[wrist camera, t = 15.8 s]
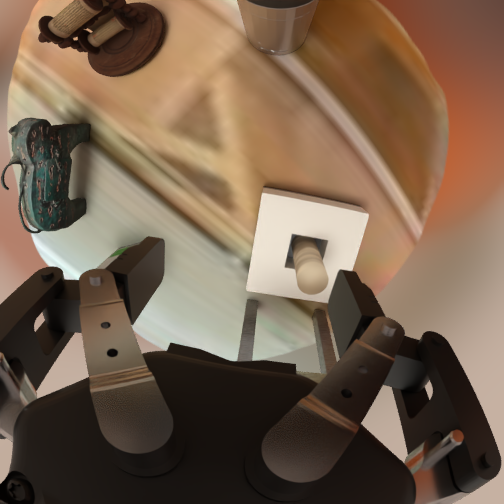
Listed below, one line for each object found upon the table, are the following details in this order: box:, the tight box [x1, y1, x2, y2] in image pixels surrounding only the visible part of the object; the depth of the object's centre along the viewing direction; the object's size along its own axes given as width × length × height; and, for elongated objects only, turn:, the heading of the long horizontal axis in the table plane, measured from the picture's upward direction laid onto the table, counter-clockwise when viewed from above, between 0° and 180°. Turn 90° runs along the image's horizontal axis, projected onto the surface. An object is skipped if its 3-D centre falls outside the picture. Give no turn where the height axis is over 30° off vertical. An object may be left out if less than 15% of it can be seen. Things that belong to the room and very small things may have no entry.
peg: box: [291, 235, 329, 295], centre depth 39 cm, size 4×4×12 cm
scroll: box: [38, 0, 164, 77], centre depth 24 cm, size 15×15×20 cm
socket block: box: [246, 186, 369, 303], centre depth 43 cm, size 16×16×5 cm
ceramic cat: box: [1, 118, 91, 233], centre depth 33 cm, size 20×6×20 cm, turn 169°
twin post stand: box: [237, 299, 337, 384], centre depth 39 cm, size 7×17×25 cm, turn 82°
